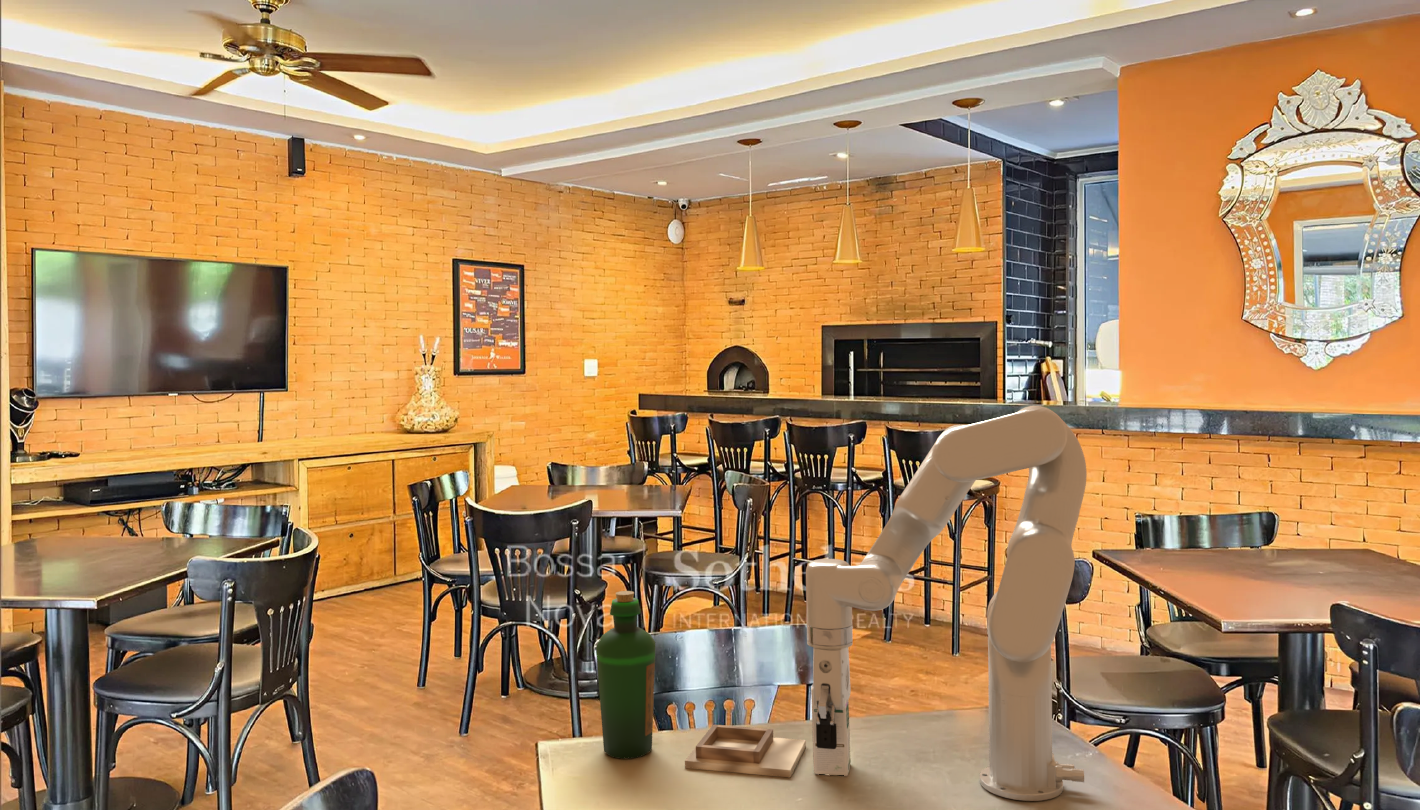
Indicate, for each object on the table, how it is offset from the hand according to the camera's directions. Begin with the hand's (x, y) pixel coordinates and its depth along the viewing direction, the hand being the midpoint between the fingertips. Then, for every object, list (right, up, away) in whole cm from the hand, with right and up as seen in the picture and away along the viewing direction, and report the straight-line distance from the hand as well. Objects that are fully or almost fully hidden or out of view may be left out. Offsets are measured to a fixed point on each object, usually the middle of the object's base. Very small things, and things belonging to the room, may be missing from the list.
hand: (831, 737), depth 165 cm
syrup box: (0, -6, 0) cm, 6 cm away
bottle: (-35, -6, +10) cm, 36 cm away
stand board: (-14, -5, +6) cm, 16 cm away
